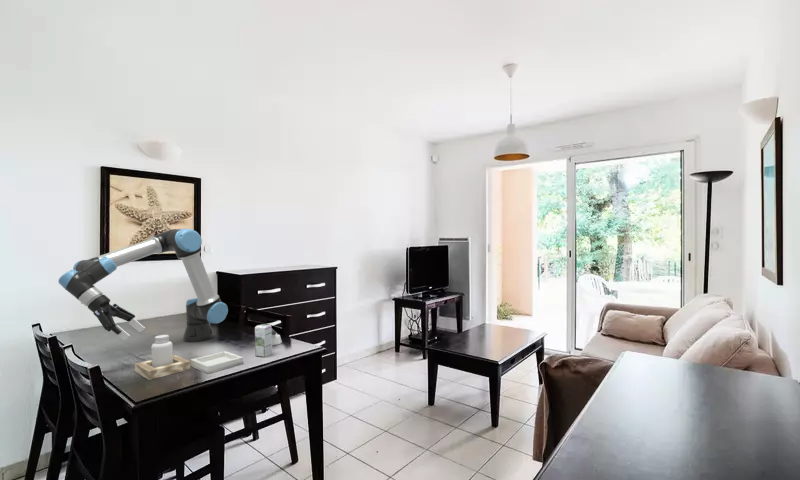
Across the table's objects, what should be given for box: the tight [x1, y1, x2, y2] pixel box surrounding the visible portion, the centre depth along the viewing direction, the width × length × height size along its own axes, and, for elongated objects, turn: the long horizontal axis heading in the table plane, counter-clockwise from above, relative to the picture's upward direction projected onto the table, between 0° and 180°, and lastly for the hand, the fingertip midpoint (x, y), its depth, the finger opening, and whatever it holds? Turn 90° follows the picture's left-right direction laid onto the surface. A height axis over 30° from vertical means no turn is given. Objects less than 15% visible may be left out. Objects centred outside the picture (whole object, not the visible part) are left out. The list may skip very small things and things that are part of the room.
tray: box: [190, 350, 244, 375], centre depth 178 cm, size 16×16×3 cm
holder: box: [134, 354, 191, 381], centre depth 171 cm, size 16×16×4 cm
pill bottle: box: [150, 334, 174, 368], centre depth 171 cm, size 8×8×15 cm
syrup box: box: [254, 324, 273, 358], centre depth 192 cm, size 6×6×14 cm
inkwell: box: [272, 328, 283, 346], centre depth 209 cm, size 9×18×10 cm, turn 14°
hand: (135, 334), depth 169 cm, fingers open, 13 cm apart
